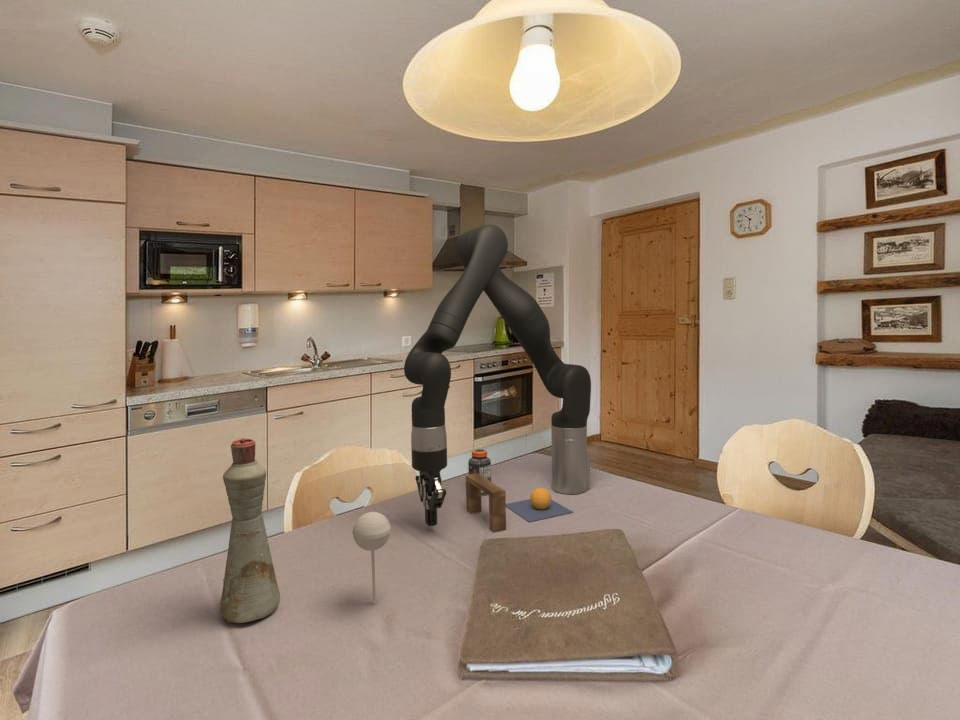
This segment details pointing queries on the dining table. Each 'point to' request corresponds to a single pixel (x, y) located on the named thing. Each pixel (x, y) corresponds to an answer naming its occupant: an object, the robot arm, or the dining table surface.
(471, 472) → the pill bottle
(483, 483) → the bridge
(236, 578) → the bottle
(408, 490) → the dining table surface
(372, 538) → the lollipop
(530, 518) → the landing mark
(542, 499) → the ball
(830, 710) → the dining table surface
